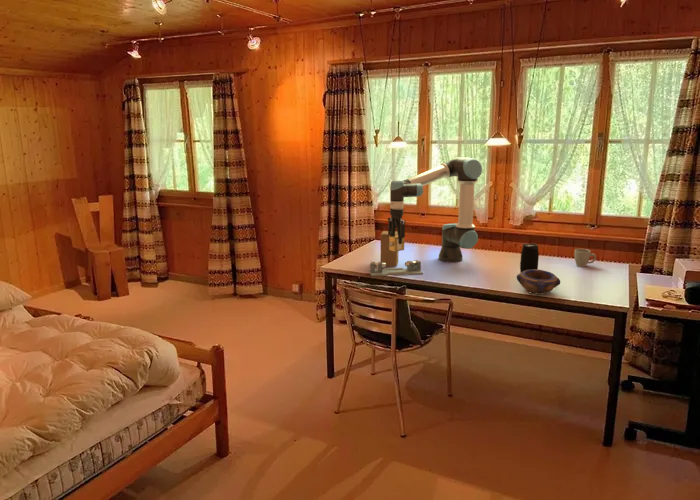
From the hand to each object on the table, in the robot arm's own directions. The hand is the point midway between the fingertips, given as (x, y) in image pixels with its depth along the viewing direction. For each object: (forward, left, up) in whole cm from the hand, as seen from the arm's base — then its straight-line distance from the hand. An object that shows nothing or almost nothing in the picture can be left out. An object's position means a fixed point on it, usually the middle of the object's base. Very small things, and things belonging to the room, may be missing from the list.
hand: (396, 248), depth 300 cm
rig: (0, 0, -15) cm, 15 cm away
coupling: (0, 0, -1) cm, 1 cm away
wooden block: (0, -20, -15) cm, 25 cm away
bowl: (-65, +45, -15) cm, 80 cm away
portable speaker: (-71, +21, -15) cm, 75 cm away
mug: (-116, 0, -15) cm, 117 cm away
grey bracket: (+10, -1, -15) cm, 18 cm away
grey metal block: (-10, -1, -15) cm, 18 cm away
